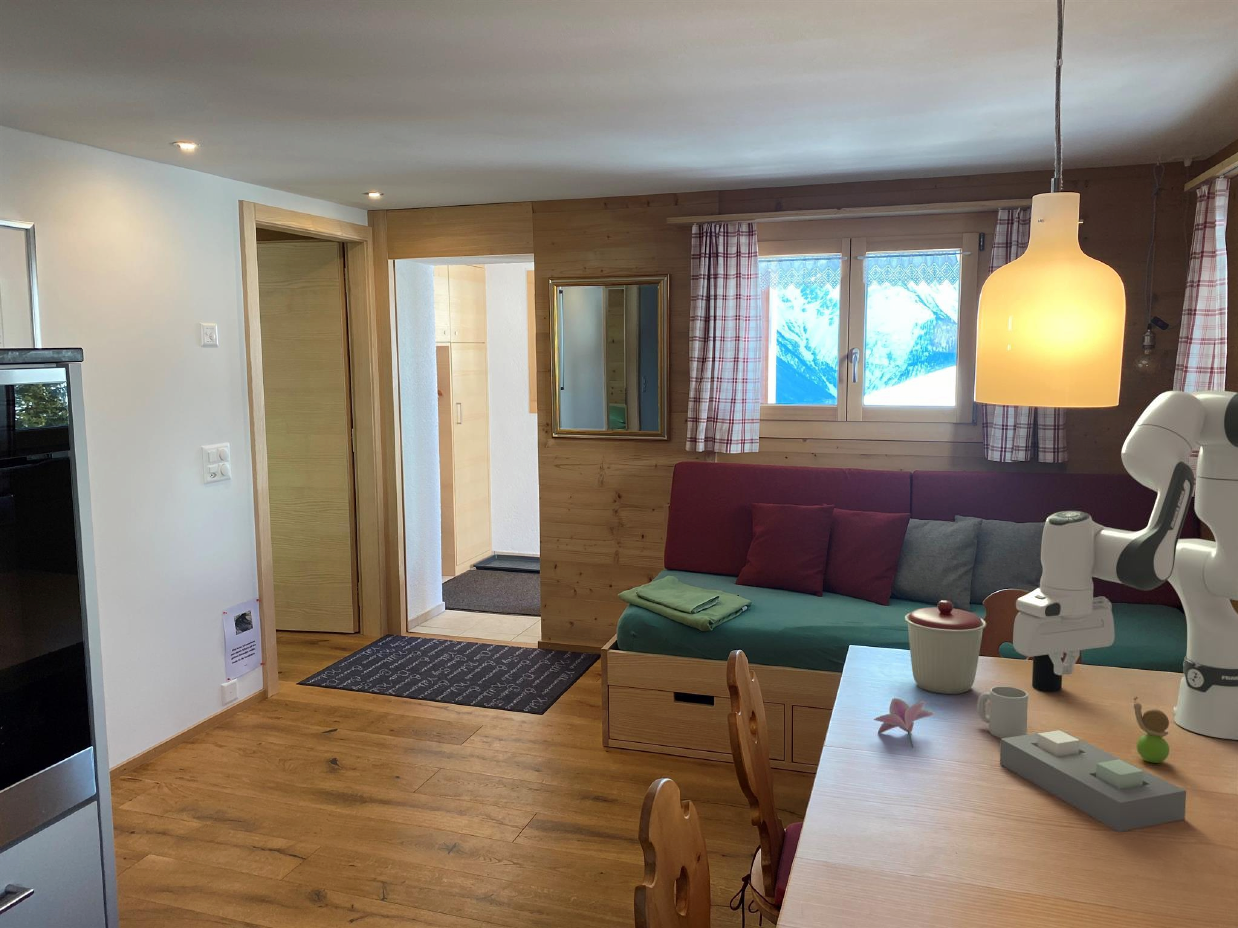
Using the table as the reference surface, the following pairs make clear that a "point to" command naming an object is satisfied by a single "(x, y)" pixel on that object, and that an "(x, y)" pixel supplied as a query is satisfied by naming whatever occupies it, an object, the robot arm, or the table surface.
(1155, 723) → the snail figurine
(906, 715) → the lily
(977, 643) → the canister
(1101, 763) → the pale green cube
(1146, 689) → the table surface
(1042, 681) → the wine bottle
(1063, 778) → the key console
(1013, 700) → the cup
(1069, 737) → the white key
